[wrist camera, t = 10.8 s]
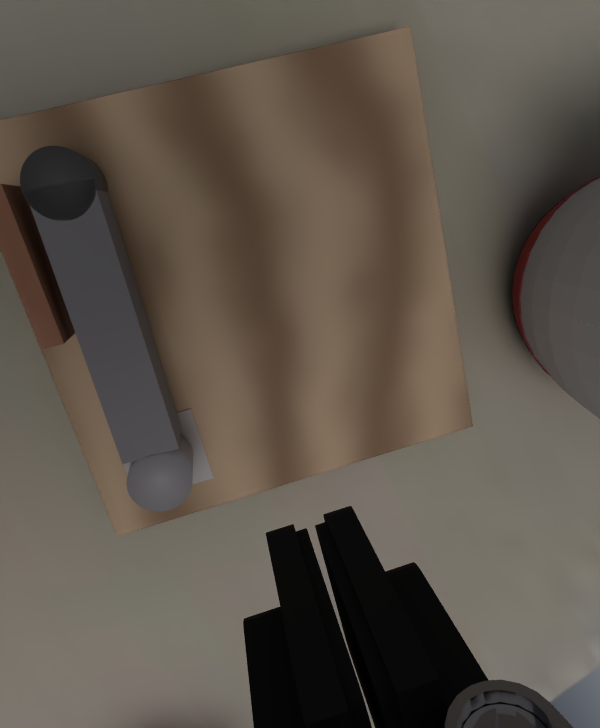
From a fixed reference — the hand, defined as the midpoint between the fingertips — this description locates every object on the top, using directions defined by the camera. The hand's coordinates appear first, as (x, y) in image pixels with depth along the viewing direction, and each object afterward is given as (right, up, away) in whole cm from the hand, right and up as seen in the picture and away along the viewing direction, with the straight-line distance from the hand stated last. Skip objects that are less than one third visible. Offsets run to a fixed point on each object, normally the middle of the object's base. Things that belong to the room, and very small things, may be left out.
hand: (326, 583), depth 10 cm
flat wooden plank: (-3, +8, +20) cm, 22 cm away
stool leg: (-10, +6, +17) cm, 21 cm away
